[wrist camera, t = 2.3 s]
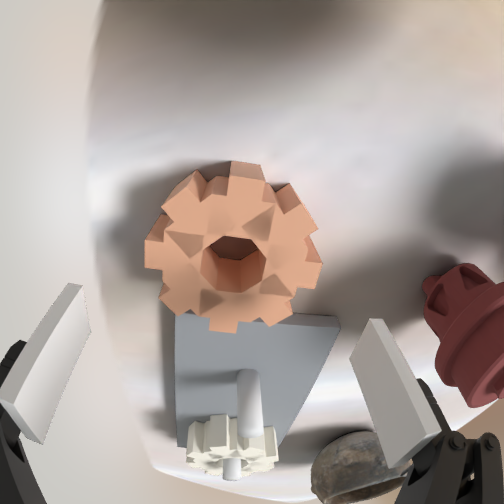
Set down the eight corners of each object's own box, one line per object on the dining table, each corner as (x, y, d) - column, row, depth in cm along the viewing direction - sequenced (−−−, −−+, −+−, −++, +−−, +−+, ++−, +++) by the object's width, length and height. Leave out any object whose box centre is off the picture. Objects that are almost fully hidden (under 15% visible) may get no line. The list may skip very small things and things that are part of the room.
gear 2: (174, 418, 29) (170, 448, 25) (266, 408, 28) (269, 440, 25) (205, 453, 34) (204, 478, 30) (281, 445, 33) (283, 471, 29)
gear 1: (165, 152, 18) (147, 165, 14) (323, 176, 19) (342, 195, 15) (158, 287, 22) (146, 321, 19) (289, 303, 24) (297, 338, 20)
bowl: (333, 415, 33) (350, 484, 24) (417, 412, 35) (439, 465, 26) (289, 458, 39) (296, 513, 30) (368, 454, 41) (381, 500, 32)
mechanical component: (450, 331, 27) (383, 323, 25) (496, 252, 23) (434, 225, 21) (503, 415, 16) (437, 434, 14) (573, 327, 12) (536, 321, 10)
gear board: (178, 299, 23) (160, 373, 16) (336, 316, 25) (362, 385, 18) (178, 437, 34) (173, 485, 27) (273, 444, 35) (278, 490, 29)
